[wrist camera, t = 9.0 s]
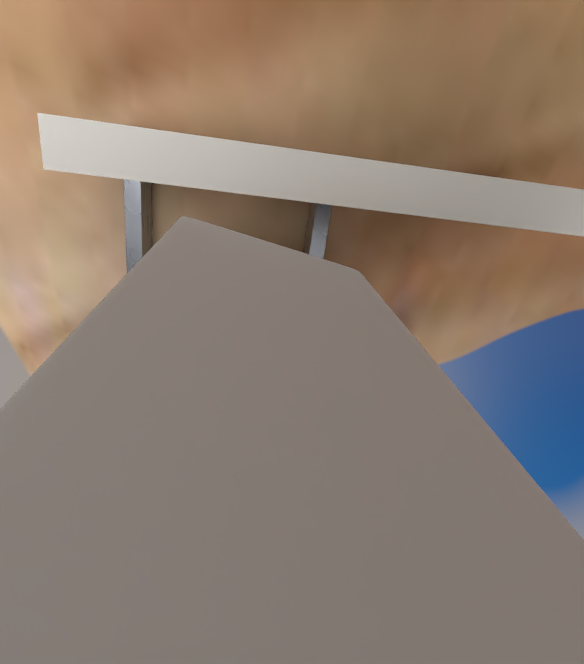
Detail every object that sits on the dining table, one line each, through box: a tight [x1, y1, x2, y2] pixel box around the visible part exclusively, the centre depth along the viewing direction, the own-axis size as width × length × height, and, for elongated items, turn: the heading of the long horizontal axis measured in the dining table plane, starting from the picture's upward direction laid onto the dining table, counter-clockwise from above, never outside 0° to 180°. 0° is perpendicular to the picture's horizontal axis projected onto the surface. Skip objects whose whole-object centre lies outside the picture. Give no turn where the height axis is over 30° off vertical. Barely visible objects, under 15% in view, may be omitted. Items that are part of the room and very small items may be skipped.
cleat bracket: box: [124, 179, 332, 273], centre depth 29 cm, size 13×10×3 cm
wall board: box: [37, 113, 584, 236], centre depth 23 cm, size 26×2×12 cm, turn 83°
